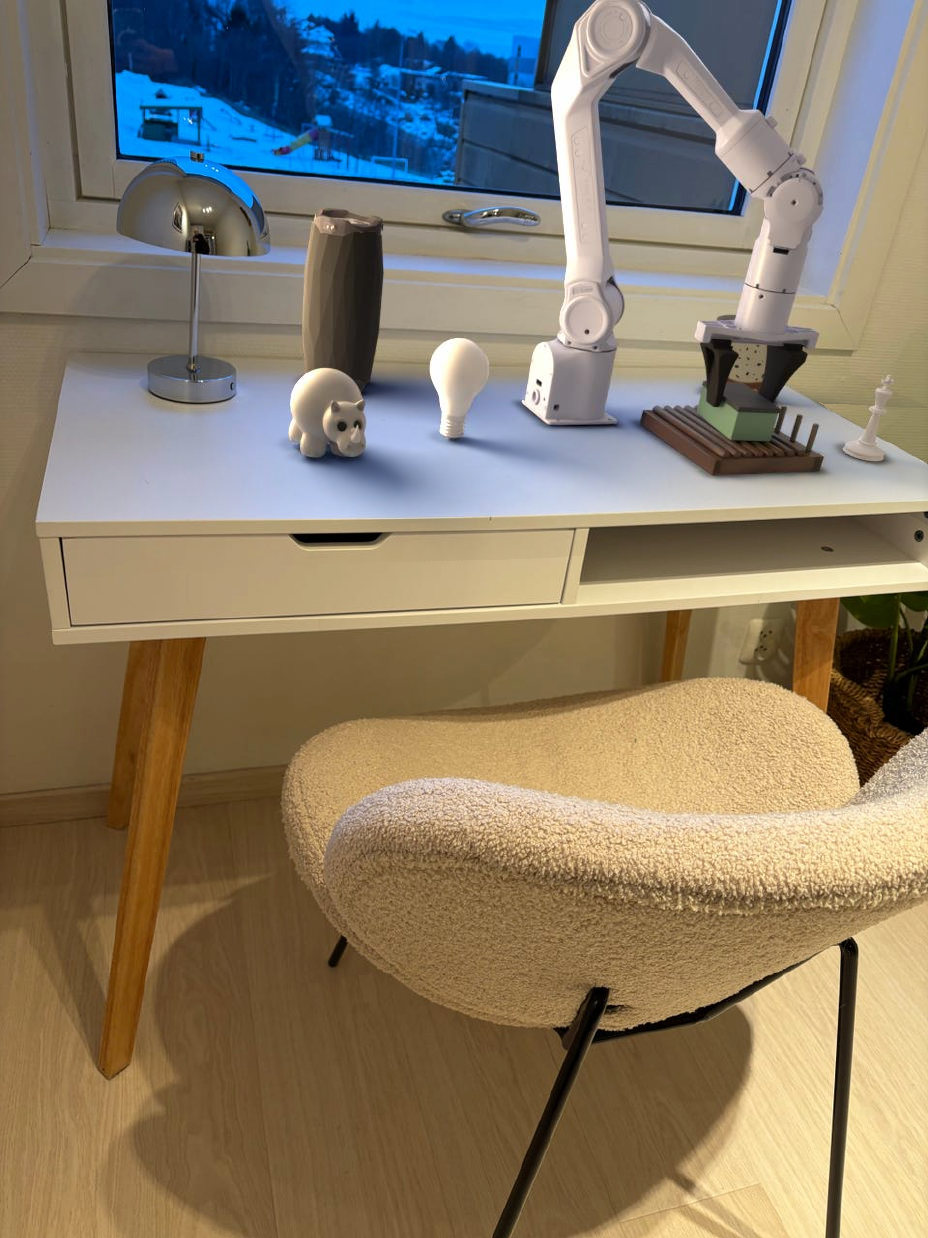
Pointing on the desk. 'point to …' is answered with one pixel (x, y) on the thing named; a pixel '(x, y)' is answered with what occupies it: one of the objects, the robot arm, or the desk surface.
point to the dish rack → (731, 444)
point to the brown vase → (343, 293)
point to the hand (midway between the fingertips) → (738, 405)
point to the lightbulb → (458, 381)
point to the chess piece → (871, 427)
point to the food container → (747, 361)
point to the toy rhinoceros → (328, 414)
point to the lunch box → (740, 413)
